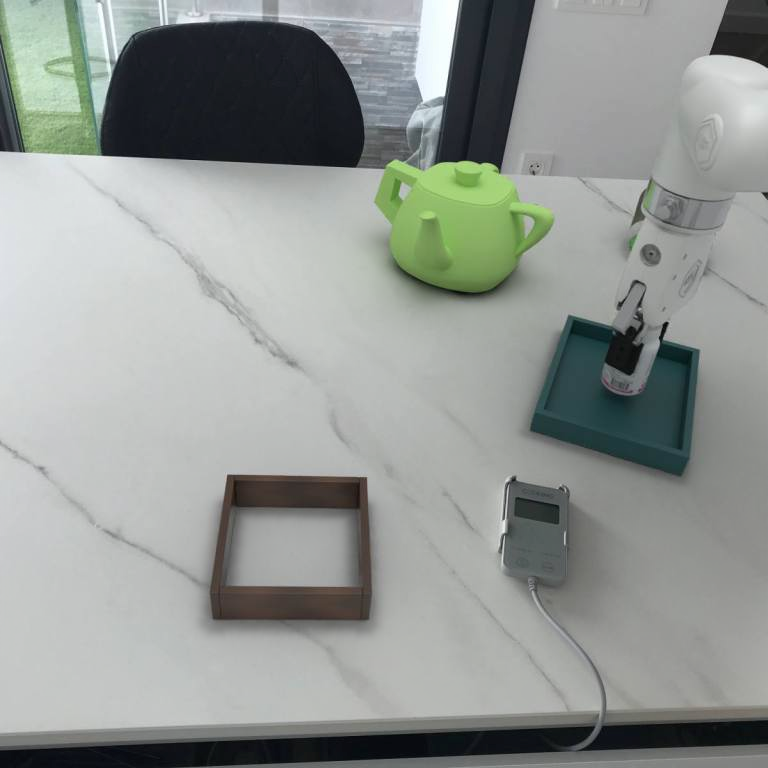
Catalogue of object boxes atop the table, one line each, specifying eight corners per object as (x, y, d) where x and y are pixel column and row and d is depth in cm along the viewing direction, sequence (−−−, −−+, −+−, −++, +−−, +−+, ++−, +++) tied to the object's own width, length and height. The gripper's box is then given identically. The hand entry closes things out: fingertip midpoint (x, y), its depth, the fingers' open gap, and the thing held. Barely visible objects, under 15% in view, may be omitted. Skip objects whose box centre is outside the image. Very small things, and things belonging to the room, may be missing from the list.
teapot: (490, 227, 115) (507, 133, 106) (547, 303, 100) (572, 201, 91) (367, 236, 110) (375, 138, 101) (409, 316, 95) (421, 210, 86)
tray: (681, 476, 78) (689, 458, 76) (529, 430, 81) (534, 411, 80) (692, 366, 92) (700, 349, 90) (563, 331, 96) (568, 314, 94)
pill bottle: (627, 366, 88) (648, 304, 82) (652, 392, 84) (676, 329, 79) (591, 373, 86) (611, 310, 81) (615, 400, 83) (638, 336, 77)
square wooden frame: (364, 502, 72) (367, 476, 69) (368, 620, 62) (371, 594, 60) (229, 500, 71) (227, 474, 68) (212, 619, 61) (209, 593, 59)
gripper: (684, 247, 64) (624, 410, 76) (760, 189, 75) (697, 341, 86) (605, 214, 68) (559, 375, 80) (688, 163, 78) (637, 312, 90)
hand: (631, 356), depth 83 cm, fingers closed on pill bottle, 4 cm apart
